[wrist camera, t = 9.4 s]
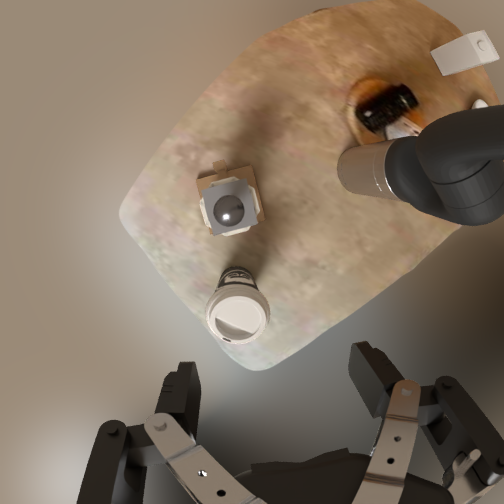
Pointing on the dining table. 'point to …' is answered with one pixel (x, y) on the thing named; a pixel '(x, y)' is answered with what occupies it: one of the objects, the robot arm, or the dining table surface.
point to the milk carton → (464, 53)
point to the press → (230, 184)
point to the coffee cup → (237, 308)
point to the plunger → (229, 210)
